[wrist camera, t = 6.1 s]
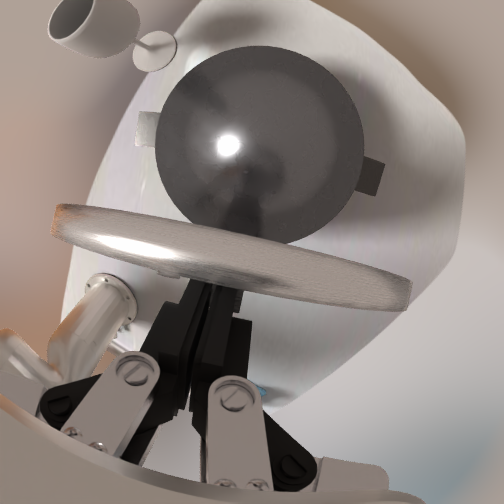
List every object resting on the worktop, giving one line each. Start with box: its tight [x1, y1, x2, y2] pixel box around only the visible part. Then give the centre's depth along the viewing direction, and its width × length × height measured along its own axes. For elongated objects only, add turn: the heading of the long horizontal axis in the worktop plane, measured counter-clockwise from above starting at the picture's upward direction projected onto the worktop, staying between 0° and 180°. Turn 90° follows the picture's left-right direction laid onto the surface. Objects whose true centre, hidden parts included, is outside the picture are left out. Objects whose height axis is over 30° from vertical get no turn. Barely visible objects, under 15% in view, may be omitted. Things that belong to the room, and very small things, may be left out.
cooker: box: [135, 46, 385, 244], centre depth 32 cm, size 22×28×12 cm
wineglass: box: [48, 0, 176, 72], centre depth 22 cm, size 8×8×21 cm
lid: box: [50, 204, 413, 313], centre depth 19 cm, size 25×23×4 cm
